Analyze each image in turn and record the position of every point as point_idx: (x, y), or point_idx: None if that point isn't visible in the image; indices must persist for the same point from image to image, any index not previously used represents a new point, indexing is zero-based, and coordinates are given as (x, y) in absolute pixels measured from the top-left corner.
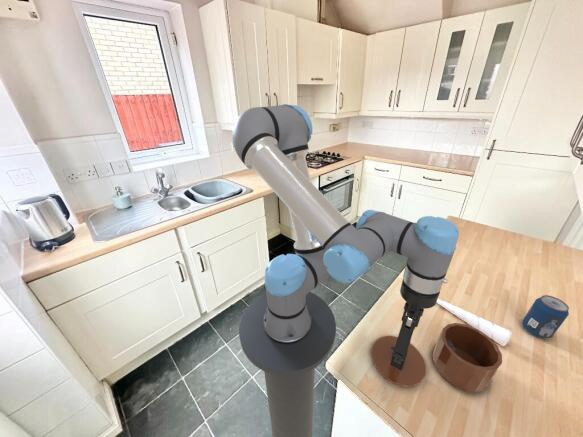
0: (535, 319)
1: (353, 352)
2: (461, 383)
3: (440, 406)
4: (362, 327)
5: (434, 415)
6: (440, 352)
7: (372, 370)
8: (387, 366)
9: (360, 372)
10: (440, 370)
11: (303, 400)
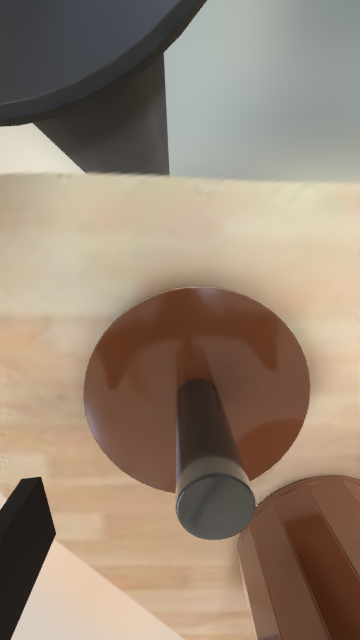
0: None
1: (96, 225)
2: (245, 595)
3: (141, 537)
4: (259, 186)
5: (102, 533)
6: (310, 587)
7: (85, 333)
8: (130, 383)
9: (38, 299)
10: (257, 524)
11: (87, 166)
